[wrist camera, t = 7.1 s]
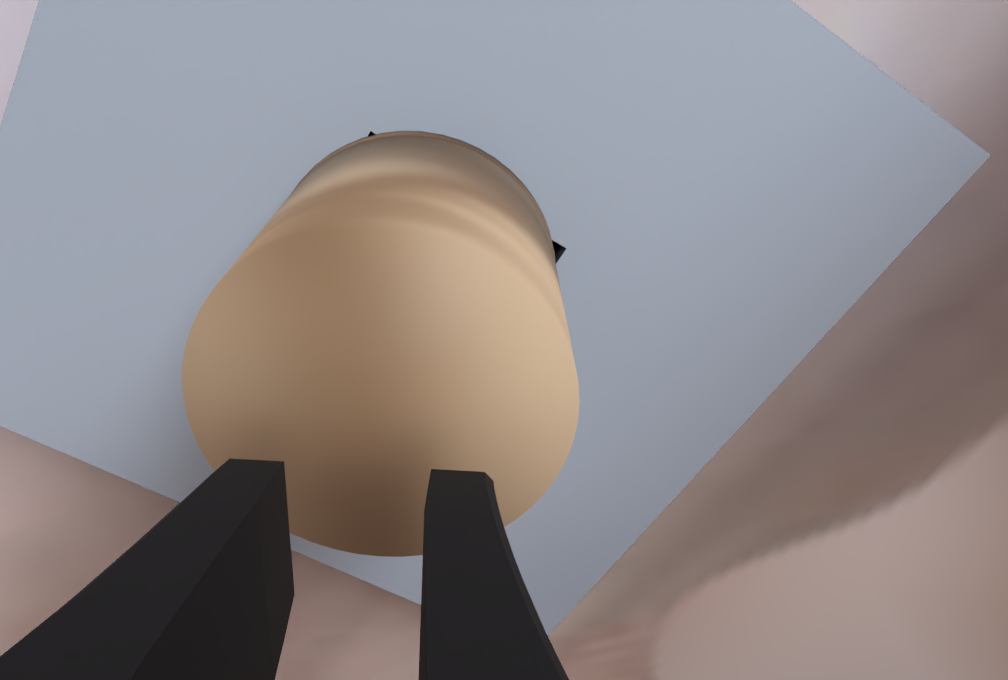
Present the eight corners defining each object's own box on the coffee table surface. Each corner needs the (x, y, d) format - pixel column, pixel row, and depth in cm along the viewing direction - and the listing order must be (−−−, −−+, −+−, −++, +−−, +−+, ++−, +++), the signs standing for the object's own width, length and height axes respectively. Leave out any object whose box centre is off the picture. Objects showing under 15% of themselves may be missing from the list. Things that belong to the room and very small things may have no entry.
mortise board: (935, 132, 16) (990, 154, 14) (529, 596, 22) (532, 652, 20) (229, -408, 12) (184, -470, 10) (-26, 347, 18) (-82, 391, 16)
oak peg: (564, 125, 16) (610, 239, 9) (534, 361, 18) (554, 567, 12) (290, 100, 15) (157, 200, 9) (299, 343, 18) (199, 546, 12)
